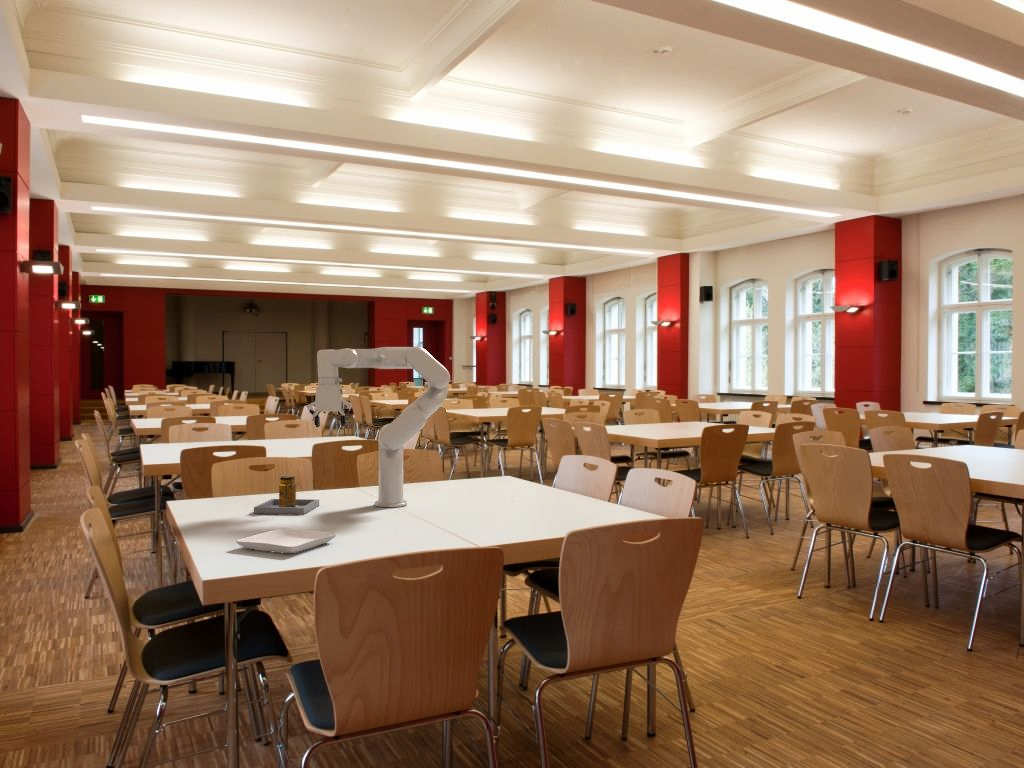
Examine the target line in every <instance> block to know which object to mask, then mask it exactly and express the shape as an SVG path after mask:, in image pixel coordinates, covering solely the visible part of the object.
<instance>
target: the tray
mask: <svg viewBox="0 0 1024 768" xmlns="http://www.w3.org/2000/svg"><path fill="white" fill-rule="evenodd" d="M296 506H299V507H279V498H270V499H269V500H267V501H264V502H262V503H260V504H257V505H256V506H253V515H279V514H302V515H301V516H305V515H306V514H308V513H310V512H312V511H313V510H315V509H317V508H319V507H320V499H314V498H313V499H311V498H309V499H308V498H305V499H304V498H302V499H301V498H296ZM316 507H317V508H316ZM311 510H312V511H311ZM309 511H310V512H309ZM304 514H305V515H304Z"/></svg>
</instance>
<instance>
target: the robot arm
mask: <svg viewBox="0 0 1024 768" xmlns="http://www.w3.org/2000/svg"><path fill="white" fill-rule="evenodd" d="M316 357H317V358H316V360H317V361H316V362H317V377H318V378H317V379H318V381H317V382H318V385H317V386H316V388H315V389H316V390H315V400H314V401H313V402H311V403H309V404H307V405H306V408H307V410H308V411H309V413H310V415H312V417H314V418H313V419H314V425H315V427H316V428H320V427H321V420H320V419H321V418H320V414H321V412H323V413H325V412H339V413H340V414H341V416H340V427H345V426H346V425H347V424H346V423H347V417H346V416H347V415H348V413H349V412H350V411H351V409H352V407H353V403H350V402H349V401H347V400H344V394H343V388H342V385H341V384H340V383H343V378H340V377H339V368H345V369H360V368H362V369H367V368H368V369H371V368H372V369H379V370H395V369H397V370H399V369H400V370H404V369H405V370H407V369H408V370H411V369H413V370H414V371H415V372H417V374H418V375H420V377H421V378H423V379H424V380H425V382H427V387H426V389H425V391H424V392H423V393H421V395H420V396H419V397H418V398H416V399H415V400H414V401H413V402H411V403H410V404H409V405H408V406H407V407H405V408H403V410H402V411H401V413H400V415H398V416H397V417H396V418H395V419H394V420H392V421H391V422H390V423H387V424H385V425H383V426H382V427H381V428H380V430H379V432H378V436H377V437H378V440H377V441H378V497H377V498H378V500H375V501H374V502H373V503H374V506H375V507H378V508H400V507H405V506H407V505H408V501H407V500H404V445H405V444H407V443H408V442H409V441H410V440H411V439H412V438H414V437H415V435H417V434H418V433H419V432H421V430H422V429H423V428H424V427H425V425H426V423H427V420H428V419H429V418H430V417H431V416H432V415H433V414H434V413H435V412H436V411H438V410H439V408H441V406H442V405H443V404H444V402H445V401H446V399H447V396H448V394H449V393H448V392H449V384H450V382H451V374H450V372H449V371H448V369H447V368H446V367H445V366H444V365H443V364H441V363H440V362H439V361H438V360H437V359H435V357H433V355H431V354H430V353H429V352H428V351H427V350H426V349H425V348H423V347H422V346H382V347H375V348H350V347H349V348H347V347H346V348H341V349H320V350H318V351H317V355H316ZM314 406H315V410H313V407H314ZM345 406H346V409H345V410H344V408H345Z"/></svg>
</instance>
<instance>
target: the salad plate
mask: <svg viewBox="0 0 1024 768" xmlns="http://www.w3.org/2000/svg"><path fill="white" fill-rule="evenodd" d="M336 536H337V533H335V532H334V533H333V532H328V531H327V532H325V531H319V530H312V529H311V530H309V529H300V528H299V529H297V528H287V527H286V528H284V527H282V528H277V529H274V530H270V531H266V532H261V533H257V534H254V535H250V536H248V537H244V538H243V537H242V538H240V539H237V540H235V542H236V544H237V545H239V546H241V547H243V548H246V549H248V550H252V549H254V550H253V551H257V550H263V551H262V552H265V551H274V552H283V553H294V554H296V553H295V552H298V553H300V552H299V551H301V552H303V551H302V550H304V551H306V550H305V549H307V550H309V549H308V548H310V549H313V548H315V546H316V547H319V546H322V545H324V544H326V543H329V542H331V540H333V539H335V537H336ZM321 544H322V545H321ZM318 545H319V546H318ZM312 547H313V548H312ZM274 552H273V553H274ZM283 553H282V554H283Z"/></svg>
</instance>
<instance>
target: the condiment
mask: <svg viewBox="0 0 1024 768" xmlns="http://www.w3.org/2000/svg"><path fill="white" fill-rule="evenodd" d="M279 478H280V479H279V484H278V499H279V507H299V506H296V499H297V484H296V478H295V476H294V475H283V476H280V477H279Z"/></svg>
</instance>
